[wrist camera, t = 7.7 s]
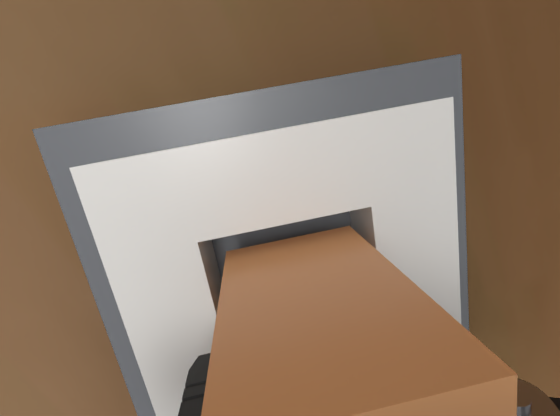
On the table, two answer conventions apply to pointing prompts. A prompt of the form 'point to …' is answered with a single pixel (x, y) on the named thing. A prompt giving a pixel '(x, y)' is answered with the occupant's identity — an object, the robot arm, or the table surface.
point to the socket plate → (236, 120)
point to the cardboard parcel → (342, 339)
